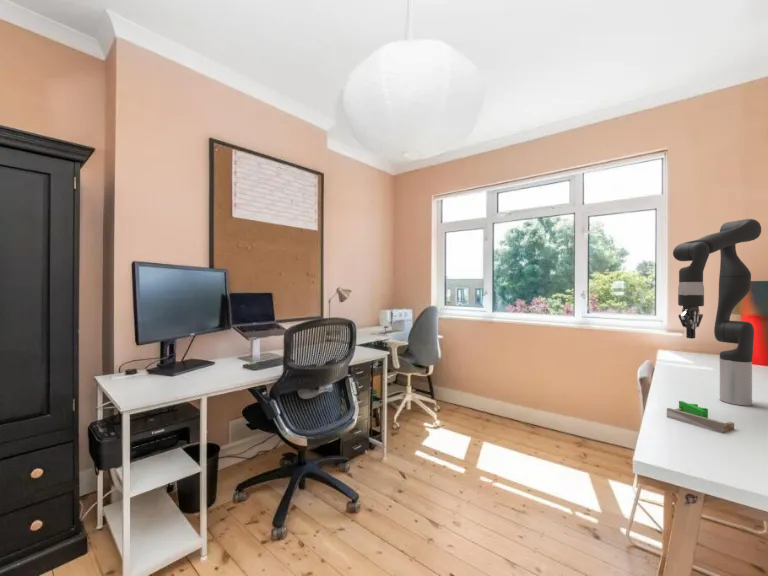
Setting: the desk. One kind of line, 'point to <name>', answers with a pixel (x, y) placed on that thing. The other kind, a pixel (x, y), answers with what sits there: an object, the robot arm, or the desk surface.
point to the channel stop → (699, 420)
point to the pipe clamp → (693, 409)
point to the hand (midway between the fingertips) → (690, 338)
